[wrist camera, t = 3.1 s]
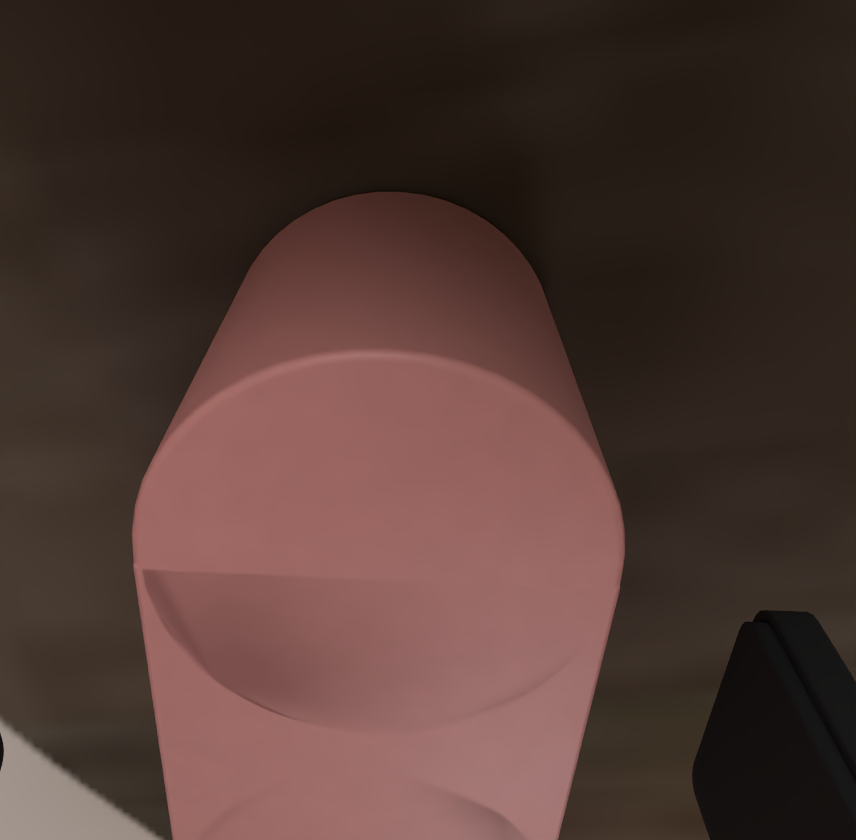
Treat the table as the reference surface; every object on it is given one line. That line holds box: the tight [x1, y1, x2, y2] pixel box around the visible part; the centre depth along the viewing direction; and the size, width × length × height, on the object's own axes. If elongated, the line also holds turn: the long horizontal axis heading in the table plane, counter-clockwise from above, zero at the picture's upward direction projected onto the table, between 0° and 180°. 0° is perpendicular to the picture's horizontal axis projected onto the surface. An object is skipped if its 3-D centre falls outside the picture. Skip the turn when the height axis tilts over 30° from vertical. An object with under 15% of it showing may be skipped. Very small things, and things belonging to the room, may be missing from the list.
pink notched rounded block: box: [132, 192, 625, 840], centre depth 11 cm, size 10×4×5 cm, turn 176°
